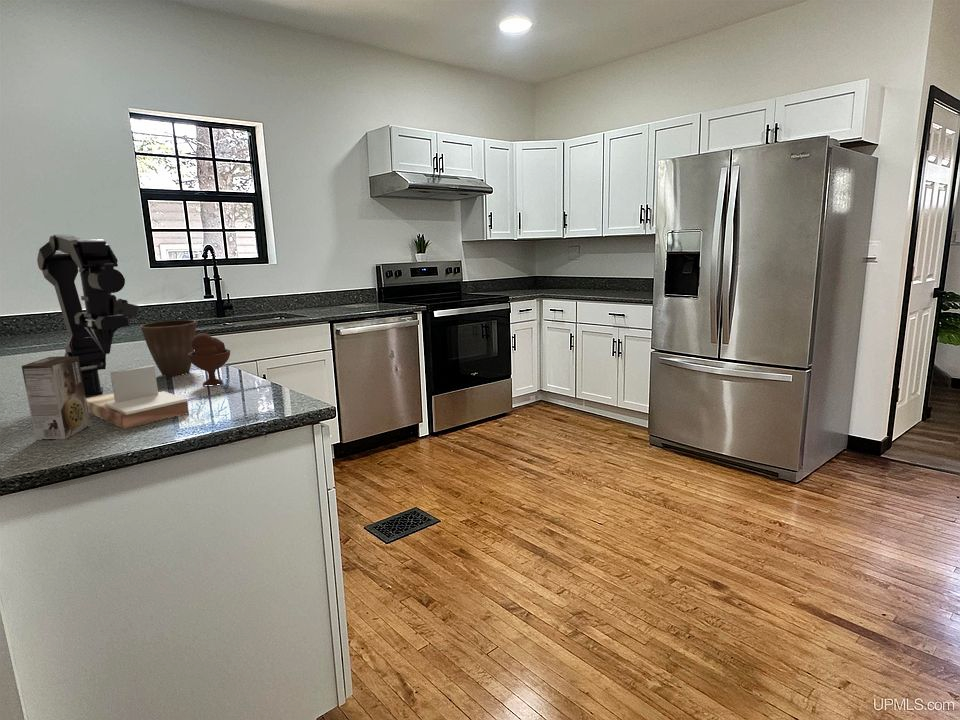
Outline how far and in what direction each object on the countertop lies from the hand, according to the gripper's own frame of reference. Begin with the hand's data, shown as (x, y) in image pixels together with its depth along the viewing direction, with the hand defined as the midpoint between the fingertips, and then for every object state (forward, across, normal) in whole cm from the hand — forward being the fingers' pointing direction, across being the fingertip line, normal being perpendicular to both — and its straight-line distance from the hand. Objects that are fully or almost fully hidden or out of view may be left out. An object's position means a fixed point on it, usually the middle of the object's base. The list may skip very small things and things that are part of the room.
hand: (106, 353), depth 142 cm
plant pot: (+13, +22, -25) cm, 36 cm away
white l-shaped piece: (+10, -20, 0) cm, 22 cm away
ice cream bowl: (+13, -2, -25) cm, 28 cm away
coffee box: (+13, -17, +16) cm, 27 cm away
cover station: (+13, -13, 0) cm, 18 cm away
